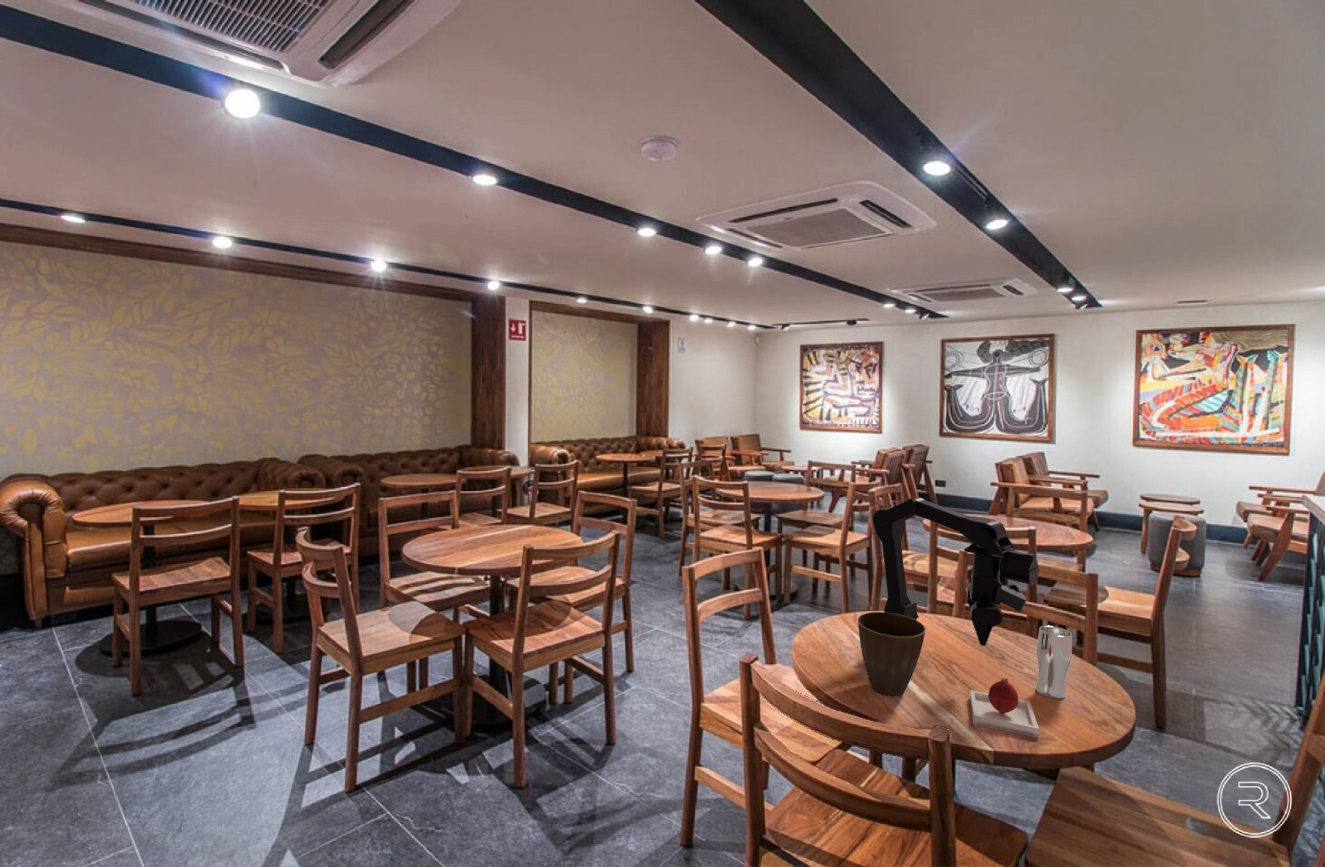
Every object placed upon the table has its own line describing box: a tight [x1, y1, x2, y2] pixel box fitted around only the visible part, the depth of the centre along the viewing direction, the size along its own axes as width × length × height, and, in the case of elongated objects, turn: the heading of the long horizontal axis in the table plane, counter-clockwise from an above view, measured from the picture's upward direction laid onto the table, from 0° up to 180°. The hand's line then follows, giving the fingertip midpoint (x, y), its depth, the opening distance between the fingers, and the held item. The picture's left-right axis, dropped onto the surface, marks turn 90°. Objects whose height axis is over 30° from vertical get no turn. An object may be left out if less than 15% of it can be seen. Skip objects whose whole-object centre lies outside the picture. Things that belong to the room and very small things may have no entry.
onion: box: [987, 677, 1019, 714], centre depth 137 cm, size 6×6×8 cm
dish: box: [969, 689, 1040, 739], centre depth 137 cm, size 12×12×2 cm
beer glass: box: [1035, 625, 1073, 700], centre depth 148 cm, size 7×7×15 cm
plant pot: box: [857, 611, 926, 697], centre depth 147 cm, size 15×15×16 cm
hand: (981, 638), depth 148 cm, fingers open, 9 cm apart
